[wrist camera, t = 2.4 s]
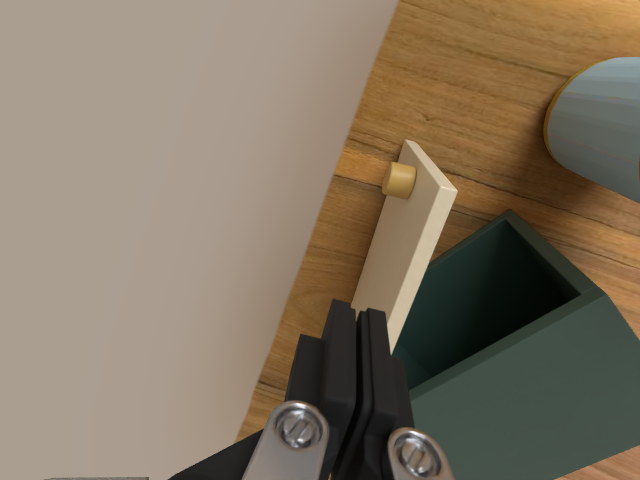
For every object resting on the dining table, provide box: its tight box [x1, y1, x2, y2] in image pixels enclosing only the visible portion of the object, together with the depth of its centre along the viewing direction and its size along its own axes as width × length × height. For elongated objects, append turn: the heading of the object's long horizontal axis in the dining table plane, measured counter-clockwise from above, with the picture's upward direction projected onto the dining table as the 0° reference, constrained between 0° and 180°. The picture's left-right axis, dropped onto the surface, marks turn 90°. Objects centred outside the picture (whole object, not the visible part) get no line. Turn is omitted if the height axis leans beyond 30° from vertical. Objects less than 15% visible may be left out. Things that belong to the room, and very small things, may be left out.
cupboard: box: [391, 209, 640, 480], centre depth 26 cm, size 10×14×12 cm
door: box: [351, 140, 458, 355], centre depth 24 cm, size 2×14×11 cm, turn 166°
